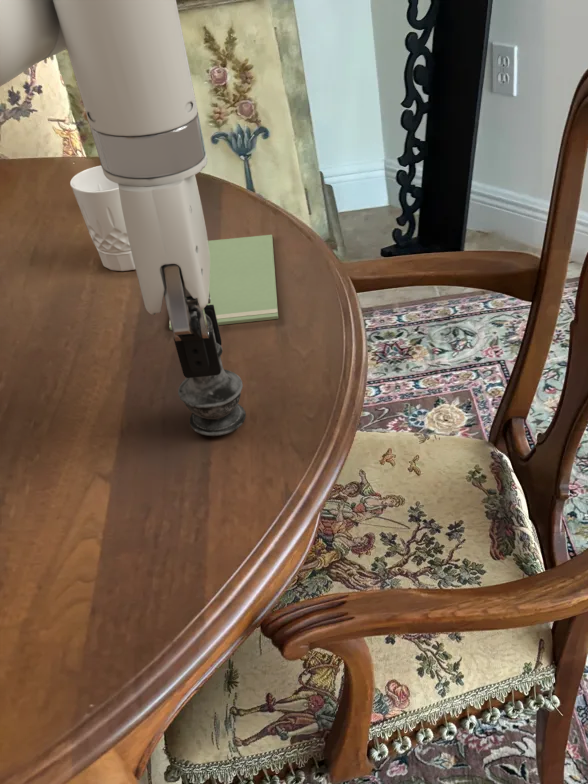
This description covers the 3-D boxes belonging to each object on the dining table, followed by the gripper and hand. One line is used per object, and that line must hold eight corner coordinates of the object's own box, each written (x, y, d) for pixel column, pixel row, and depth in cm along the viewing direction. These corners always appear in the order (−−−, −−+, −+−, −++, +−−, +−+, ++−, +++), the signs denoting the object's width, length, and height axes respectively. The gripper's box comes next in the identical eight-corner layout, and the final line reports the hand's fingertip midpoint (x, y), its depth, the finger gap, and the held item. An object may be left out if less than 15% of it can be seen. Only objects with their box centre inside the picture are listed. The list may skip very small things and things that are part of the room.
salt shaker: (200, 396, 77) (171, 284, 68) (257, 403, 76) (235, 290, 67) (176, 433, 73) (143, 320, 64) (236, 441, 72) (210, 326, 63)
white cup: (107, 244, 101) (82, 164, 94) (167, 243, 101) (146, 163, 94) (89, 274, 96) (60, 192, 89) (152, 273, 96) (129, 191, 88)
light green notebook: (169, 330, 87) (168, 326, 86) (178, 246, 100) (177, 242, 100) (278, 319, 88) (277, 315, 87) (272, 237, 101) (271, 233, 101)
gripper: (110, 108, 62) (166, 315, 75) (82, 198, 51) (154, 422, 64) (206, 101, 62) (245, 308, 76) (200, 188, 51) (247, 413, 65)
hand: (203, 358), depth 70 cm, fingers closed on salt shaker, 3 cm apart
